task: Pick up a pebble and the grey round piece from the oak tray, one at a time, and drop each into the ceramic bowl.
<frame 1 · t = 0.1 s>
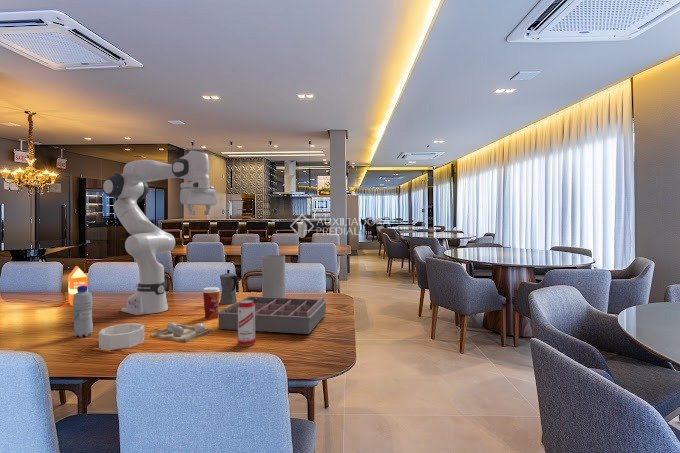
hand: (199, 214, 175), 48 cm above the table, tool pointing down, fingers open, 8 cm apart
beer can: (246, 344, 139), on the table
ceramic bowl: (122, 343, 140), on the table
organizer tray: (275, 324, 166), on the table
cylinder vase: (273, 301, 209), on the table
oak tray: (182, 335, 150), on the table
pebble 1: (171, 332, 152), resting on oak tray
coffeepot: (229, 303, 205), on the table
grey round piece 2: (178, 336, 146), resting on oak tray
orange juice: (78, 303, 204), on the table
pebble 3: (199, 333, 150), resting on oak tray
bottle: (83, 336, 149), on the table
paper cup: (211, 318, 174), on the table
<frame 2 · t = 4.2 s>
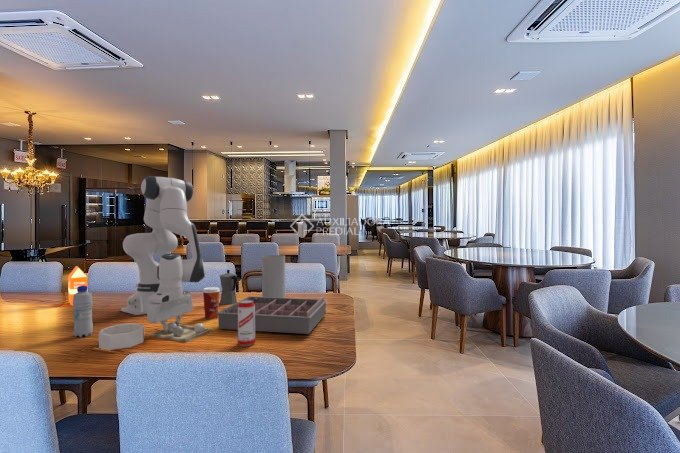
hand: (171, 328, 152), 2 cm above the table, tool pointing down, fingers closed on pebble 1, 4 cm apart
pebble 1: (171, 332, 152), resting on oak tray, touching gripper
everything else where it was.
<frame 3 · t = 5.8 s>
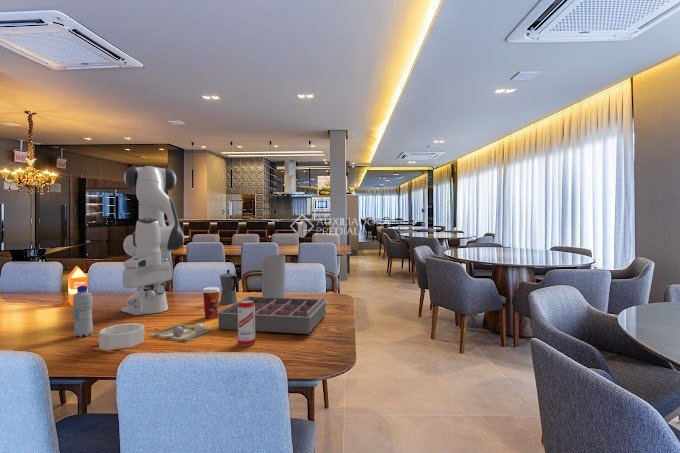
hand: (149, 296, 145), 17 cm above the table, tool pointing down, fingers closed on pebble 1, 4 cm apart
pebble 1: (149, 300, 145), point 15 cm above the table, touching gripper
everything else where it was.
when the fingers open (6 cm above the table, at t = 7.8 s): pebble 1 drops 3 cm, resting on ceramic bowl.
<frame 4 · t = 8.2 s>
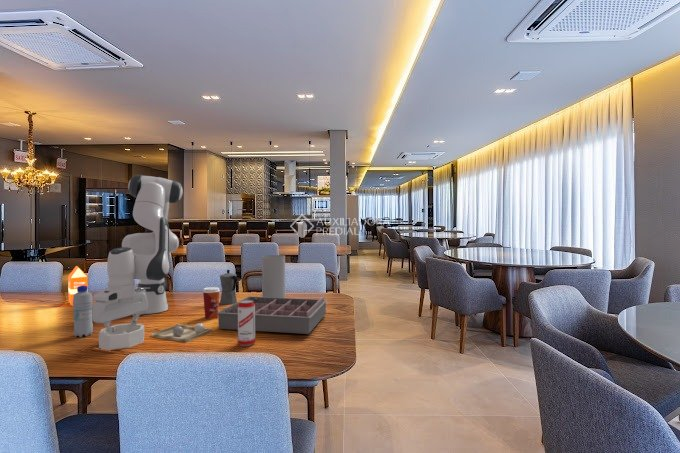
hand: (122, 328, 139), 6 cm above the table, tool pointing down, fingers open, 8 cm apart
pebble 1: (122, 341, 140), point 1 cm above the table, touching ceramic bowl
everything else where it was.
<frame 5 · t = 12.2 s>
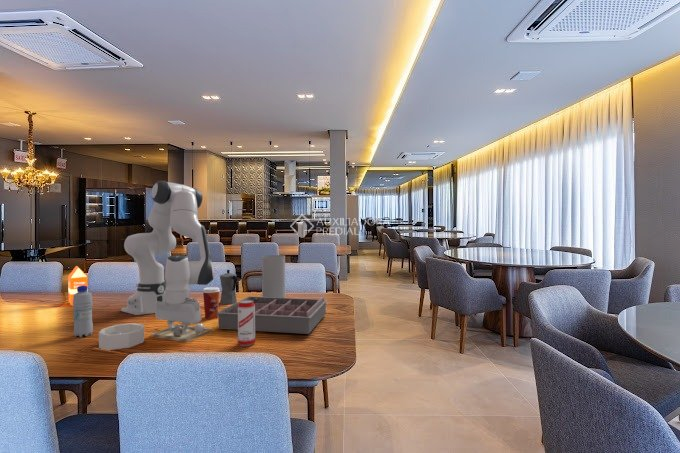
hand: (178, 332, 146), 2 cm above the table, tool pointing down, fingers closed on grey round piece 2, 4 cm apart
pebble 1: (122, 339, 139), point 1 cm above the table, tilted 49°, touching ceramic bowl
grey round piece 2: (178, 336, 146), resting on oak tray, touching gripper
everything else where it was.
when the fingers open (6 cm above the table, at t = 16.1 s): grey round piece 2 moves 2 cm and tips over, resting on ceramic bowl.
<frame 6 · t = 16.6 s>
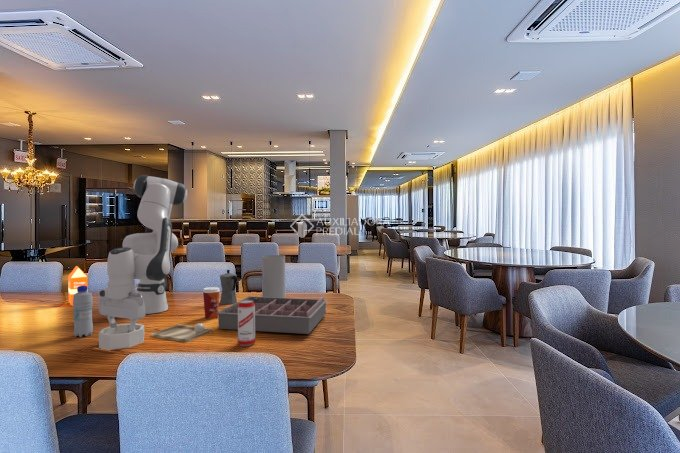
hand: (122, 328, 139), 6 cm above the table, tool pointing down, fingers open, 8 cm apart
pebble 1: (116, 335, 138), point 4 cm above the table, tilted 117°, touching ceramic bowl
grey round piece 2: (128, 330, 141), point 4 cm above the table, tilted 137°, touching ceramic bowl
everything else where it was.
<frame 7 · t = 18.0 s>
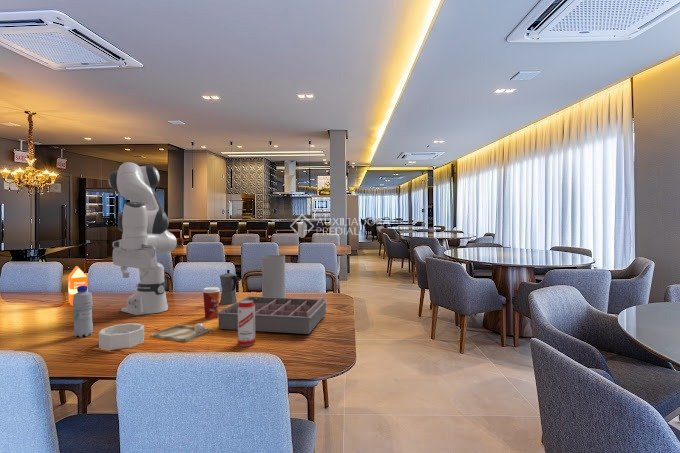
hand: (134, 278, 148), 23 cm above the table, tool pointing down, fingers open, 8 cm apart
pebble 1: (119, 336, 139), point 3 cm above the table, tilted 90°, touching ceramic bowl
grey round piece 2: (122, 339, 138), point 2 cm above the table, tilted 60°, touching ceramic bowl
everything else where it was.
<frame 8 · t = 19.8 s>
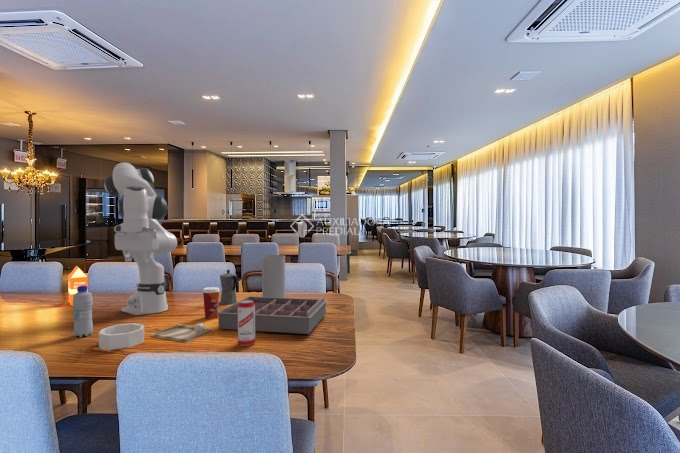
hand: (136, 262, 149), 29 cm above the table, tool pointing down, fingers open, 8 cm apart
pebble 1: (118, 336, 138), point 3 cm above the table, tilted 100°, touching ceramic bowl
grey round piece 2: (122, 340, 138), point 2 cm above the table, tilted 52°, touching ceramic bowl
everything else where it was.
at the end: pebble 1 inside the target area on the ceramic bowl (1.5 cm from its centre), point 3.2 cm above the ceramic bowl's base; grey round piece 2 inside the target area on the ceramic bowl (1.7 cm from its centre), point 1.6 cm above the ceramic bowl's base; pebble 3 moved 0.1 cm from its start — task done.
